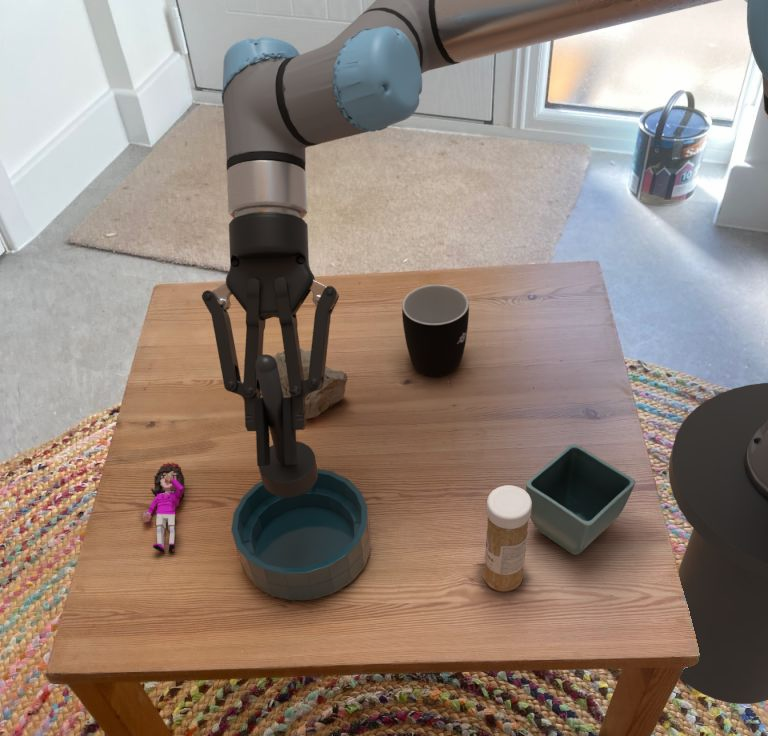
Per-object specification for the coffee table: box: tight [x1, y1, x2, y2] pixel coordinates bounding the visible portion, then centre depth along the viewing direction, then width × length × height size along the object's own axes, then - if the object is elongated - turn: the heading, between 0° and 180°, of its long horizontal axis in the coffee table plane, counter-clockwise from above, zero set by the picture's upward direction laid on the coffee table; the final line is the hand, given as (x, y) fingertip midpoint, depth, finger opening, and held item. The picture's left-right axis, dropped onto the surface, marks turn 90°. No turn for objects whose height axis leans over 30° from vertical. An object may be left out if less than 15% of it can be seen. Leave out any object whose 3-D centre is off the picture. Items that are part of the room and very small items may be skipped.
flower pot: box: [525, 443, 636, 556], centre depth 96 cm, size 9×9×9 cm
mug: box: [401, 284, 470, 378], centre depth 117 cm, size 12×9×10 cm
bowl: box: [231, 467, 372, 601], centre depth 98 cm, size 15×15×6 cm
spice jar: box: [482, 484, 532, 592], centre depth 90 cm, size 5×5×14 cm
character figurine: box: [141, 462, 185, 554], centre depth 103 cm, size 6×5×12 cm
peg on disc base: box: [255, 353, 318, 497], centre depth 84 cm, size 6×6×16 cm
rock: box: [260, 348, 348, 420], centre depth 113 cm, size 12×7×10 cm, turn 76°
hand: (277, 464), depth 83 cm, fingers closed on peg on disc base, 2 cm apart
